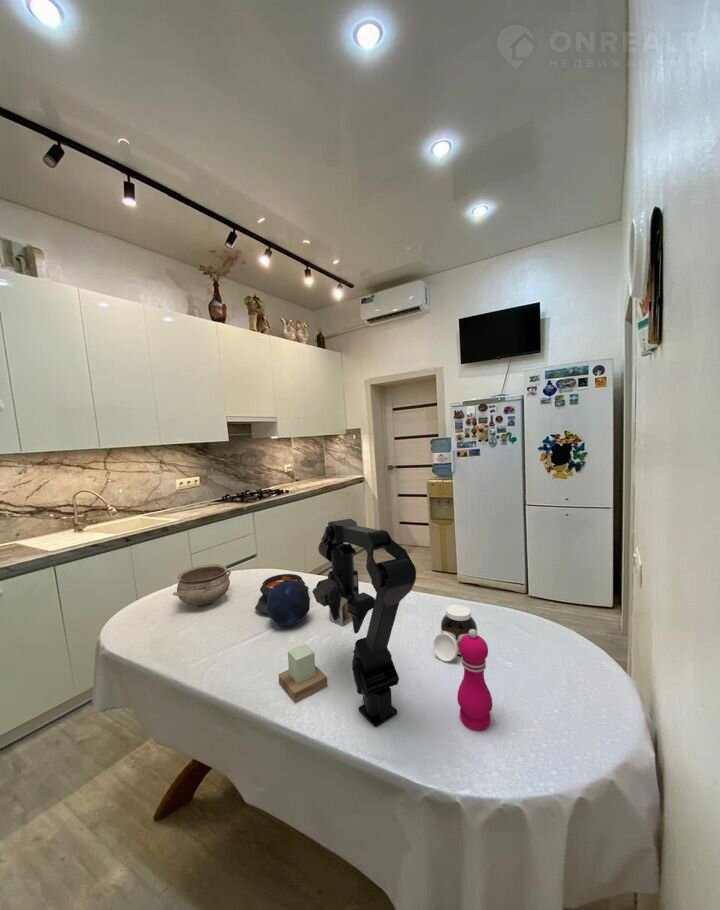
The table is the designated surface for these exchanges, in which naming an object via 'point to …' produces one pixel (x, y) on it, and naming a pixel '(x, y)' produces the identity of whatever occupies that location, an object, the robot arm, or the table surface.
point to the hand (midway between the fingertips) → (345, 625)
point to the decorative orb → (288, 602)
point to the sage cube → (301, 663)
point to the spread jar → (453, 632)
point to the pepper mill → (474, 683)
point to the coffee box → (344, 609)
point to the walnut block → (302, 685)
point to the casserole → (269, 585)
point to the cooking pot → (203, 584)
